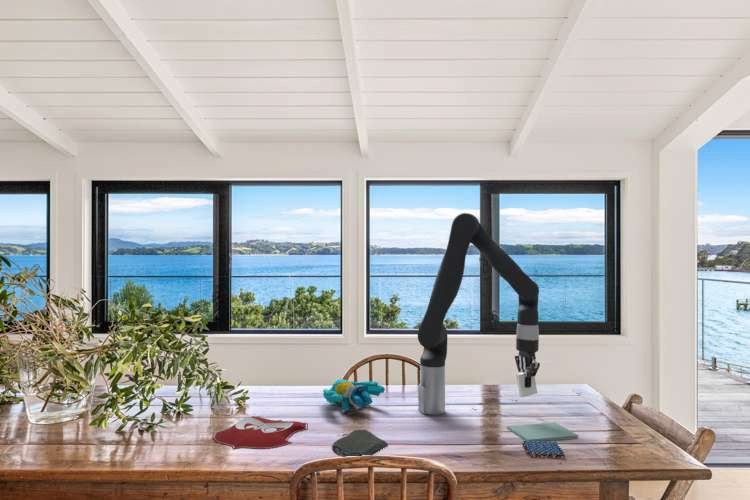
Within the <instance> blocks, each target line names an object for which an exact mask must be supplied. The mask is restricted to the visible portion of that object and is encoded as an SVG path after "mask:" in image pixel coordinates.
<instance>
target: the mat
mask: <svg viewBox="0 0 750 500" xmlns="http://www.w3.org/2000/svg"><path fill="white" fill-rule="evenodd" d="M506 428H507V430H509V431H510V432H512V433H513V434H514V435H516V436H518V437H519V438H520V439H522V440H523V441H532V442H533V441H538V442H539V441H541V442H544V441H546V442H549V441H556V440H557V441H558V440H568V439H579V434H576V433H575V432H573V431H571V430H569V428H566V427H564V426H562V425H560V424H558V423H557V422H555V421H553V422H542V423H541V422H540V423H529V424H528V423H527V424H517V425H507V426H506Z"/></svg>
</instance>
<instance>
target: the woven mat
mask: <svg viewBox="0 0 750 500" xmlns="http://www.w3.org/2000/svg"><path fill="white" fill-rule="evenodd" d="M521 445H522V448H523V449H524V450H525V453H526V455H527V456H528V458H530V459H531V458H537V459H543V458H544V459H557V460H559V458H560V459H562V460H563V459H564V457H566V455H565V452H564V451H563V449H562V448H561V447H560V445H559V444H558V442H557V441H552V440H549V441H533V442H532V441H525V440H523V441H522V442H521Z"/></svg>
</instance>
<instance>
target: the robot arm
mask: <svg viewBox="0 0 750 500" xmlns="http://www.w3.org/2000/svg"><path fill="white" fill-rule="evenodd" d="M453 218H454V219H453V220H452V223H451V226H450V233H449V237H448V241H447V245H446V249H445V252H444V255H443V257H442V260H441V262H440V265H439V268H438V270H437V273H436V276H435V280H434V283H433V287H432V290H431V293H430V297H429V301H428V305H427V307H426V311H425V313H424V316H423V318H422V321H421V323H420V325H419V327H418V330H417V340H418V343H419V344H420V345H421V347H423V350H422V351H423V352H422V354H421V356H420V359H419V360H420V361H419V363H420V365H419V366H420V367H419V369H420V371H419V372H420V373H419V375H420V377H419V380H420V381H419V384H417V385H418V387H417V389H418V393H417V395H418V396H417V397H418V401H417V402H418V404H417V405H418V406H417V409H418V411H420V412H421V413H422V415H431V416H432V415H433V416H434V415H436V416H437V415H442V414H444V413H446V360H447V356H448V355H447V354H448V329H447V328H446V326H445V325H444V321H445V318H446V315H447V313H448V311H449V309H450V308H451V306H452V304H453V302H454V301H455V299H456V297H457V296H458V293H459V291H460V288H461V285H462V281H463V277H464V272H465V267H466V266H465V265H466V258H467V257H466V256H467V253H468V250H469V247H470V245H473V246H474V248H476V249H477V250H479V252H480V254H482V255H483V257H484V258H485V259H486V261H487V263H488V264H489V265H490V266H491V268H493V270H495V272H497V274H498V276H500V277H501V278H502V279H503V280H505V282H507V284H508V285H509V286H510V287H511V288H512V289H513V291H514V292H515V293H516V294H517V295H518V309H517V317H516V318H517V322H516V323H517V324H516V331H515V333H516V338H515V349H516V351H518V355H514V360H515V365H516V368H517V371H518V373H522V372H525V387H526V388H530V387H531V377H533V376H535V377H536V375H537V373H538V371H539V369H540V366H541V364H540V362H537V357H536V353H537V352H538V351H539V344H540V343H539V341H540V340H539V339H540V338H539V336H540V335H539V334H540V329H539V308H538V307H539V294H540V288H539V286H538V283H537V282H536V281H533V279H532V278H530V277H529V276H528V275H527V274H526V273H525V271H523V269H522V268H521V267H520V266H519V264H517V262H516V261H515V260H514V259H513V258H512V257H511V256H509V254H508V253H506V251H505V250H504V249H502V248H501V247H500V246H499V244H497V243H496V242H495V241H494V239H493V238H492V237H490V235H489V233H488V232H487V231H486V230H485V228H484V227H483V225H482V224H481V222H480V221H479V219H478V218H477V216H476V215H475V214H473V213H468V212H462V213H459V214H457V215H456V216H455V217H453Z"/></svg>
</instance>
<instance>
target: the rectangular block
mask: <svg viewBox="0 0 750 500" xmlns="http://www.w3.org/2000/svg"><path fill="white" fill-rule="evenodd" d="M515 376H516V382H517V387H518V393H519V397H520V398H526V397H530V396H532V395H535V394H536V395H537V394H538V389H537V384H536V383H537V382H536V376H533V377H531V387H530V388H526V387H525V372H522V373H521V372H518V373H515Z"/></svg>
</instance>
